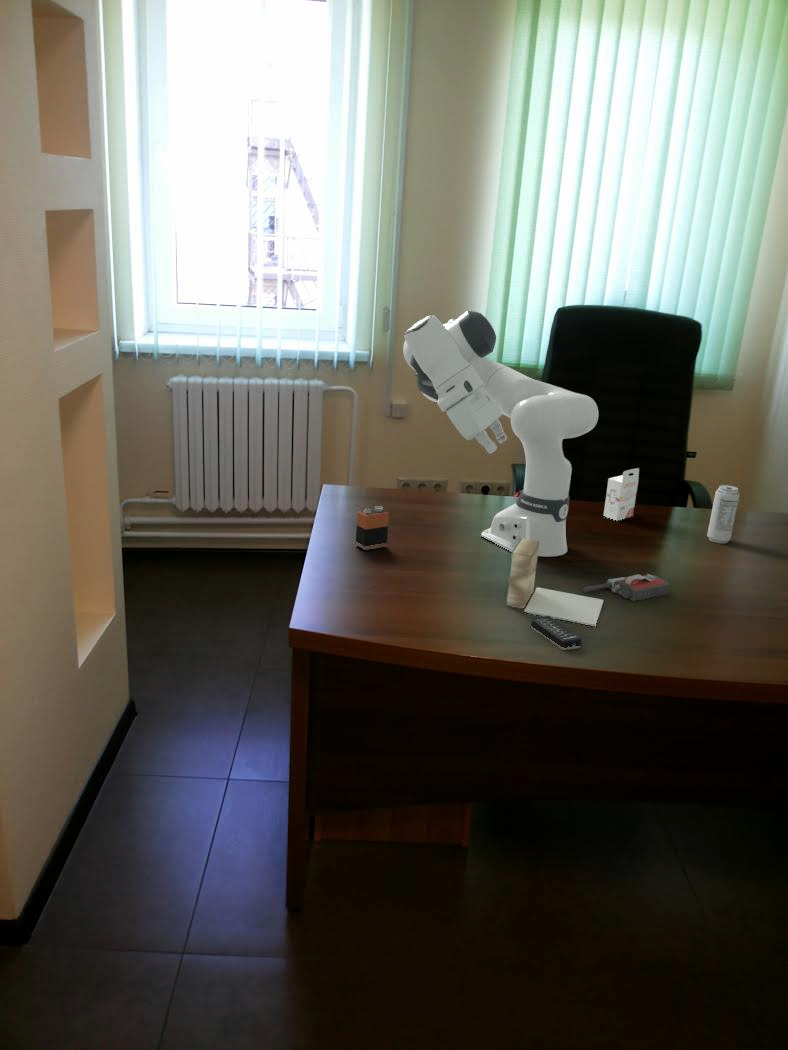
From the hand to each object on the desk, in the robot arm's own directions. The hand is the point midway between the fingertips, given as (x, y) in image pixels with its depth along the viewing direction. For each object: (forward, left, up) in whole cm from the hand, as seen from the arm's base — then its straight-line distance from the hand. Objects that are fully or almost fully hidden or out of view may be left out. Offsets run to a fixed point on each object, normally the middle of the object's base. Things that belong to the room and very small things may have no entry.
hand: (499, 446), depth 168 cm
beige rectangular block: (+6, +5, -33) cm, 34 cm away
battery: (-36, +1, -33) cm, 49 cm away
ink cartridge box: (-13, +78, -33) cm, 86 cm away
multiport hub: (+22, -5, -33) cm, 40 cm away
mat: (+15, +9, -33) cm, 37 cm away
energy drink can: (+15, +83, -33) cm, 90 cm away
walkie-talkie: (+19, +28, -33) cm, 47 cm away
